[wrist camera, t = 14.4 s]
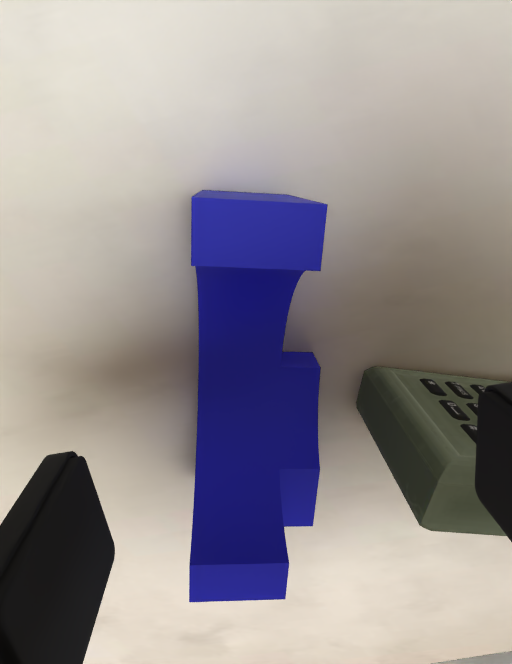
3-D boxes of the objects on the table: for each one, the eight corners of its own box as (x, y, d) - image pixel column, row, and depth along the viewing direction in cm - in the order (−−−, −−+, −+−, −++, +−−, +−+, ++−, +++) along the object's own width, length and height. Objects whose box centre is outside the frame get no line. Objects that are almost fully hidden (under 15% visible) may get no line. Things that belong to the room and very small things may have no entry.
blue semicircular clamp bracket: (299, 475, 19) (331, 597, 14) (198, 475, 19) (189, 602, 13) (329, 197, 15) (392, 208, 10) (202, 189, 15) (191, 197, 9)
